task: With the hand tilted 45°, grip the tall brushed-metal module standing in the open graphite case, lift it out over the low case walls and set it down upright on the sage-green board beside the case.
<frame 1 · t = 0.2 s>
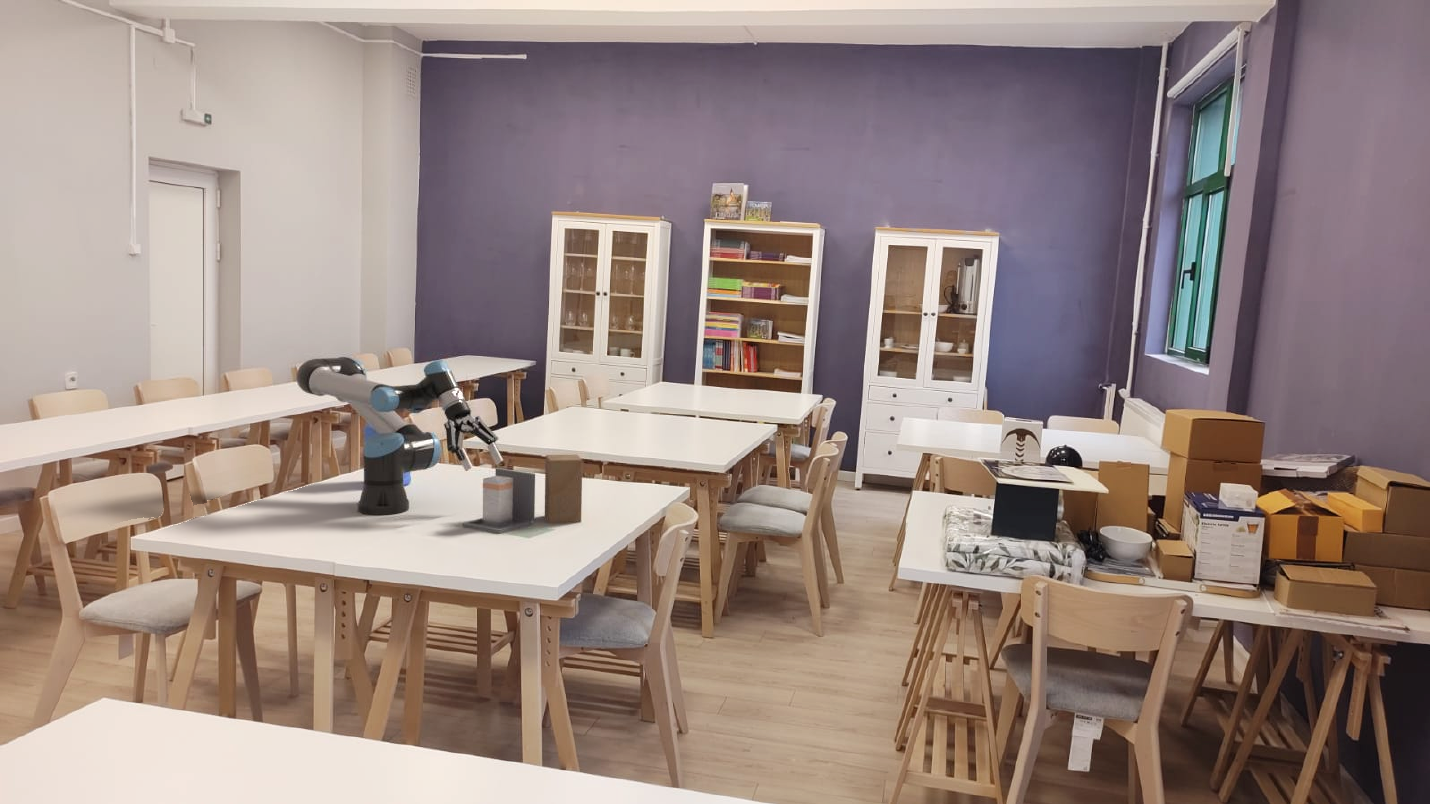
hand: (484, 465, 305), 15 cm above the table, tool tilted 35°, fingers open, 13 cm apart
module: (497, 525, 290), point 1 cm above the table, touching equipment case
water jug: (387, 484, 348), on the table
sage board: (531, 535, 284), on the table
wooden block: (562, 522, 301), on the table
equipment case: (497, 528, 290), on the table
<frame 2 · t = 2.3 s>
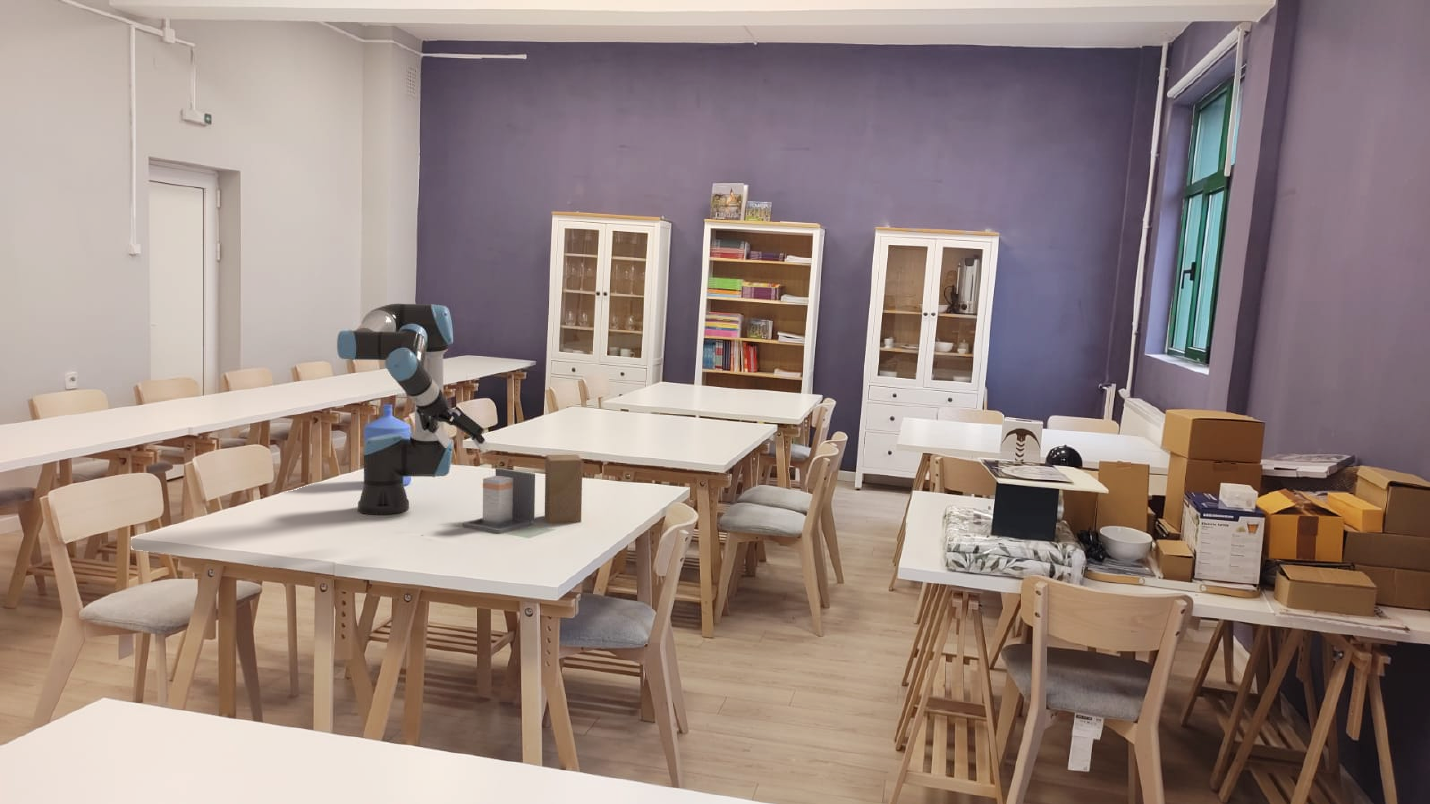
hand: (466, 446, 275), 26 cm above the table, tool tilted 45°, fingers open, 13 cm apart
nothing on the table moved.
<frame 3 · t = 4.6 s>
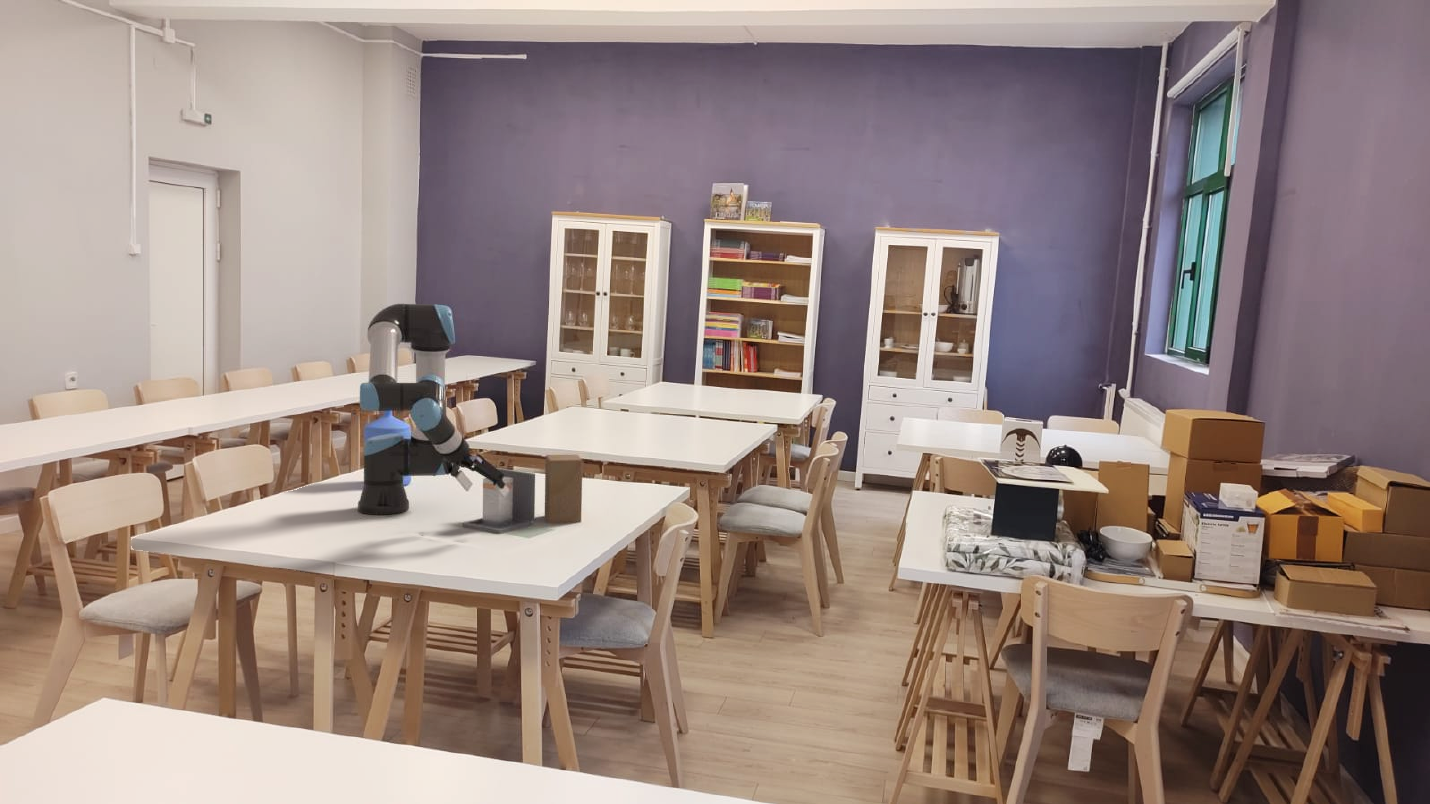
hand: (487, 490, 283), 12 cm above the table, tool tilted 45°, fingers open, 13 cm apart
nothing on the table moved.
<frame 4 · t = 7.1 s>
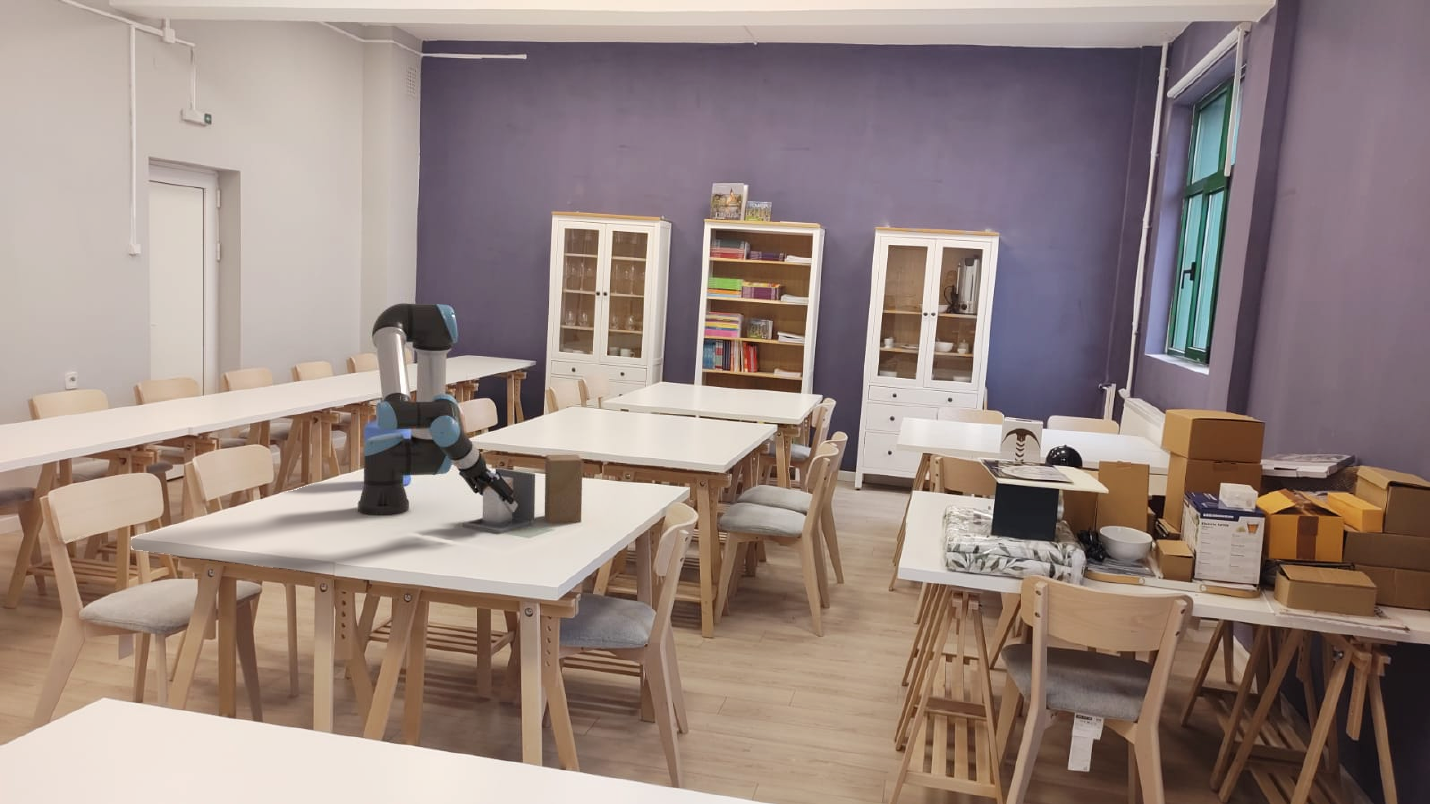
hand: (505, 506, 292), 6 cm above the table, tool tilted 45°, fingers closed on module, 6 cm apart
module: (497, 525, 290), point 1 cm above the table, touching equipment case, gripper
everything else where it was.
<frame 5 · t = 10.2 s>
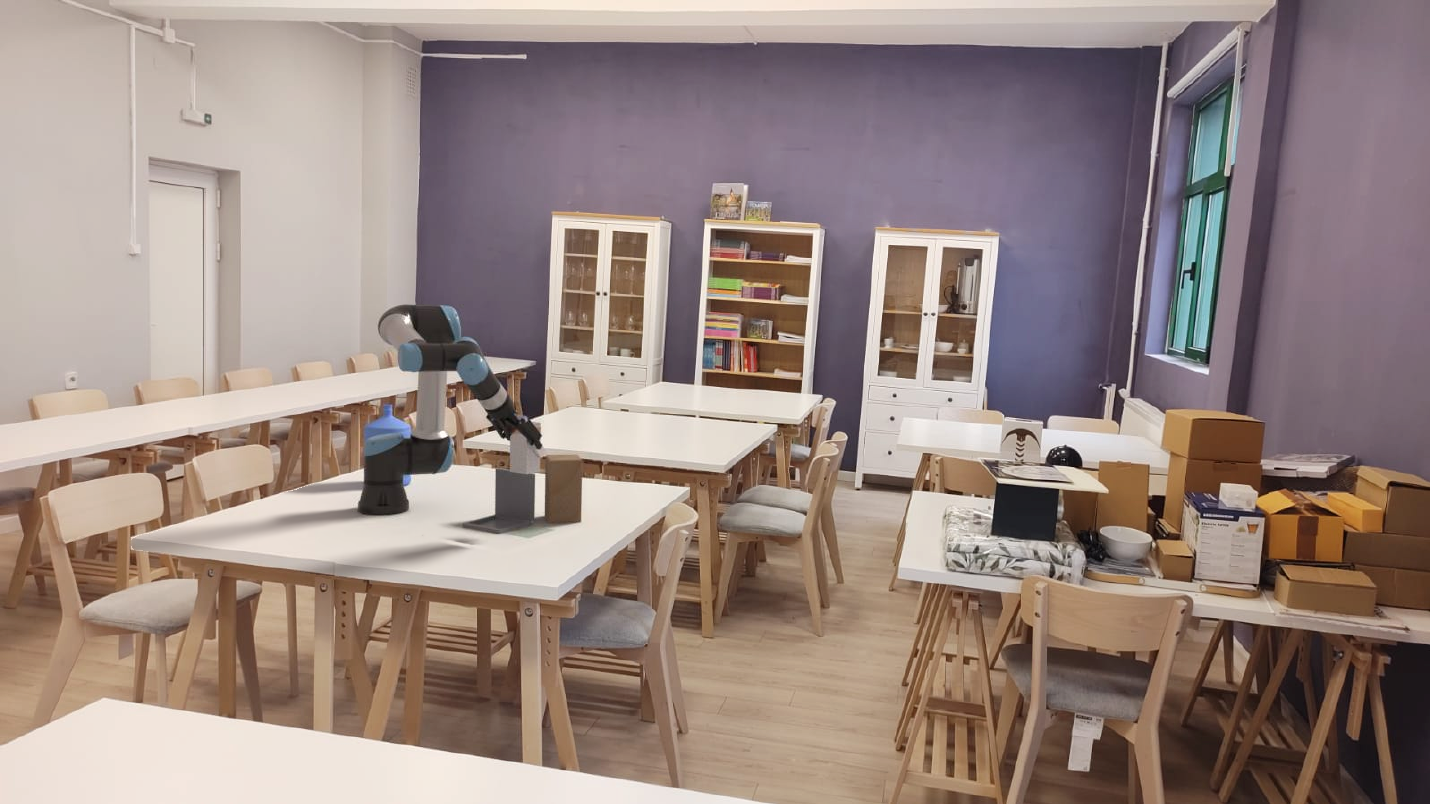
hand: (533, 453, 285), 23 cm above the table, tool tilted 45°, fingers closed on module, 6 cm apart
module: (524, 471, 282), point 18 cm above the table, touching gripper
everything else where it was.
when the fingers open (7 cm above the table, at t = 13.7 s): module drops 1 cm, resting on sage board.
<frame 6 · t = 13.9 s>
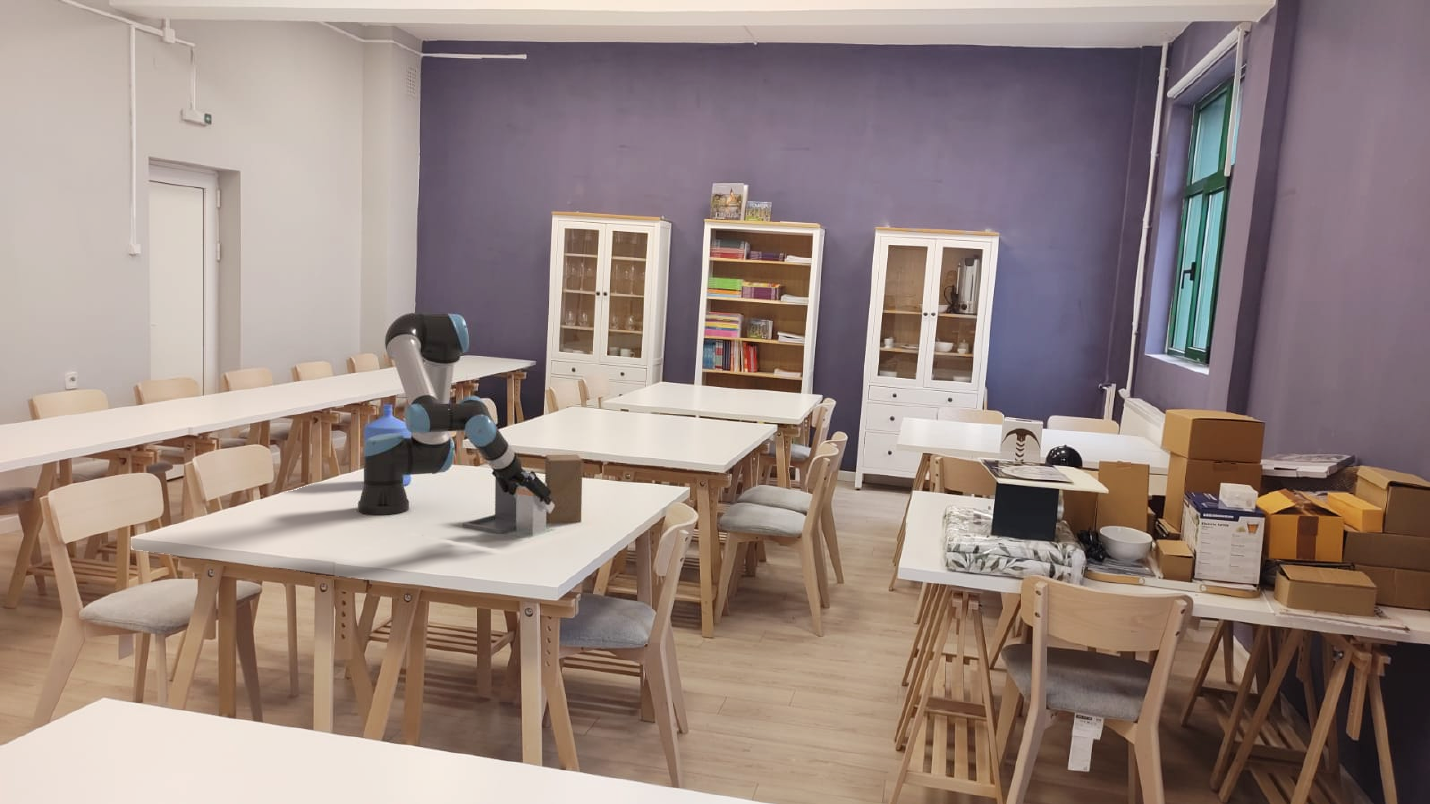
hand: (538, 507, 286), 8 cm above the table, tool tilted 45°, fingers open, 8 cm apart
module: (531, 531, 284), point 1 cm above the table, touching sage board
everything else where it was.
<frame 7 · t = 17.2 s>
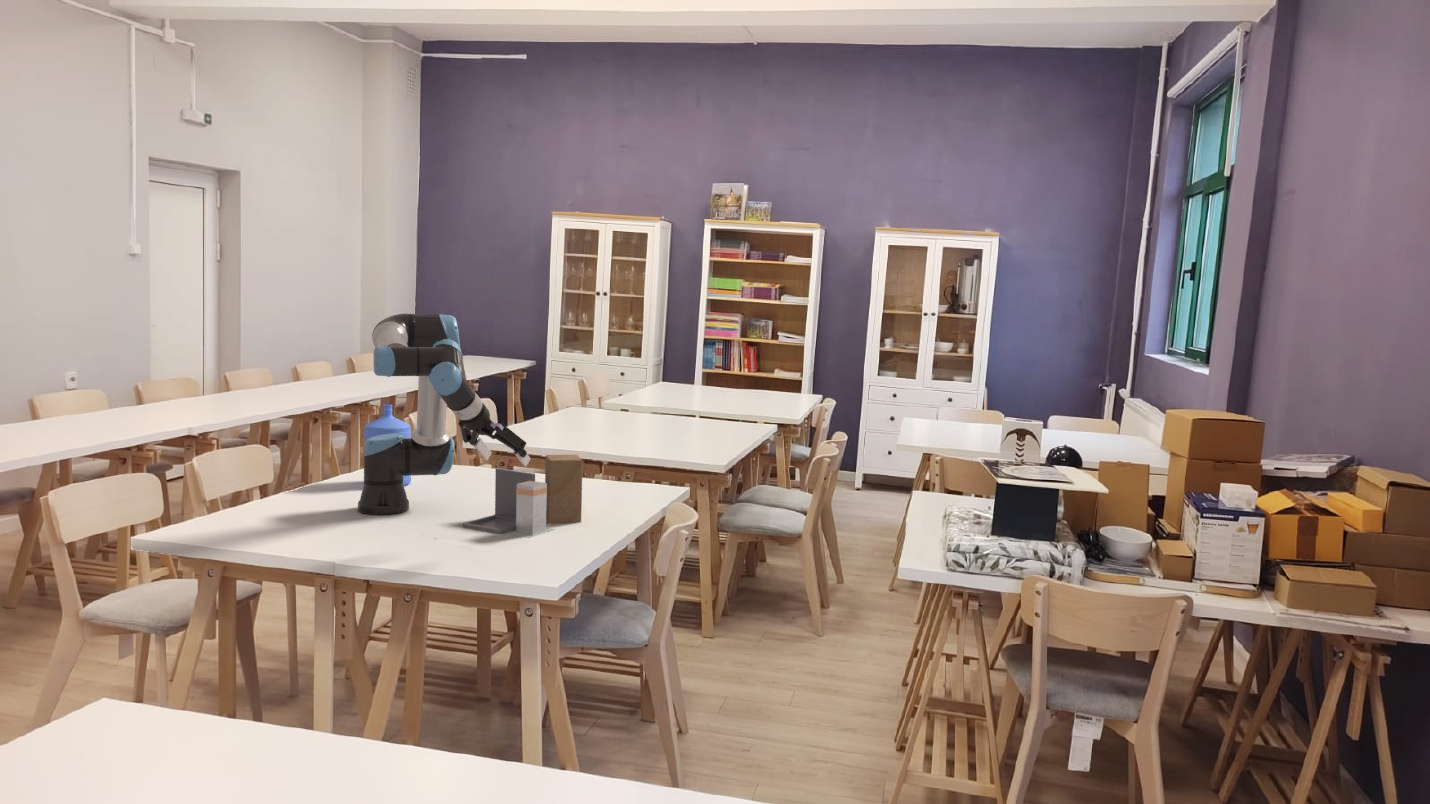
hand: (507, 459, 272), 23 cm above the table, tool tilted 45°, fingers open, 13 cm apart
nothing on the table moved.
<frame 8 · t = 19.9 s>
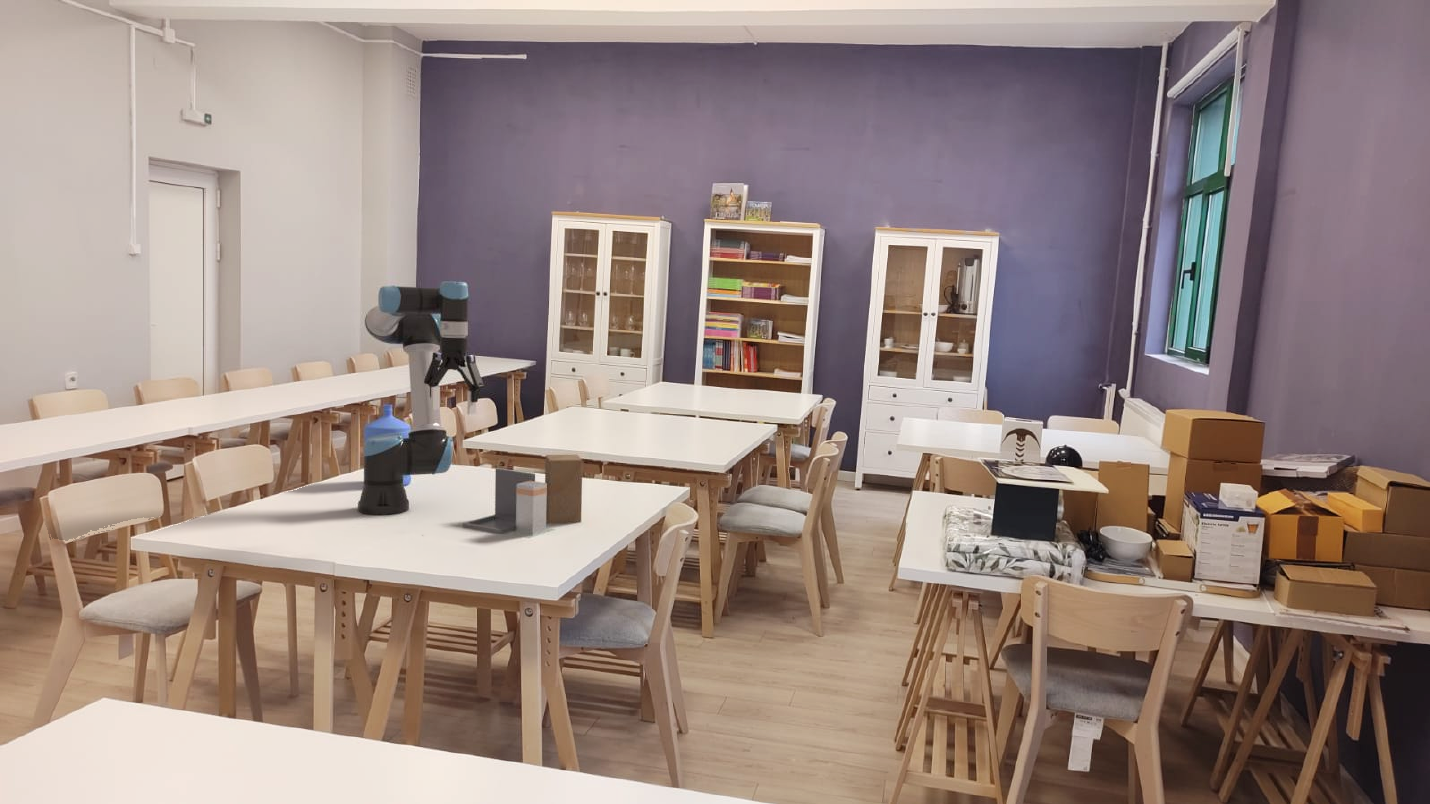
hand: (453, 411, 281), 35 cm above the table, tool pointing down, fingers open, 13 cm apart
nothing on the table moved.
at the end: module inside the target area (0.1 cm from its centre), point 1.0 cm above the table; module tilted 0°; the gripper is holding nothing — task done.
